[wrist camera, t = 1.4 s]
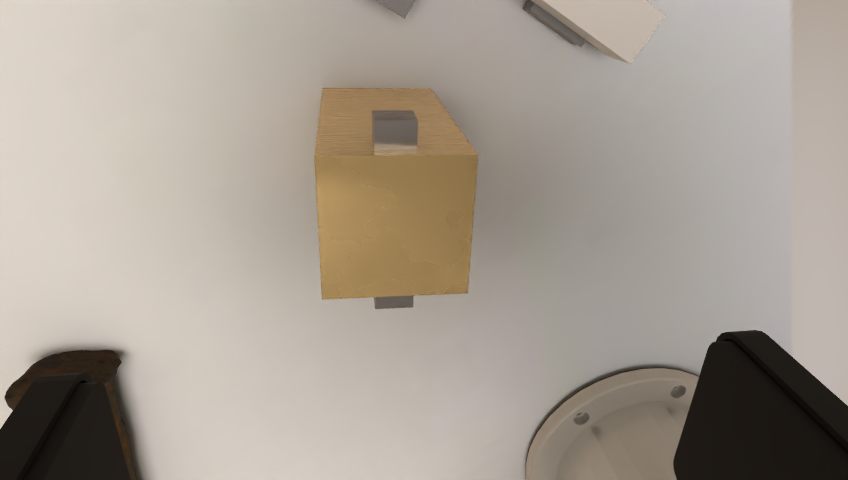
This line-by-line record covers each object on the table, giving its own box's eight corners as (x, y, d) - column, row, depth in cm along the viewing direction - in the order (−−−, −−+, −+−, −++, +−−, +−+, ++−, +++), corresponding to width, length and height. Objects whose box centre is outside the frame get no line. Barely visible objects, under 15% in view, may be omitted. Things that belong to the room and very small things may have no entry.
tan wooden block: (431, 68, 23) (480, 126, 15) (426, 205, 26) (466, 315, 18) (321, 67, 23) (312, 126, 15) (327, 207, 26) (323, 321, 17)
